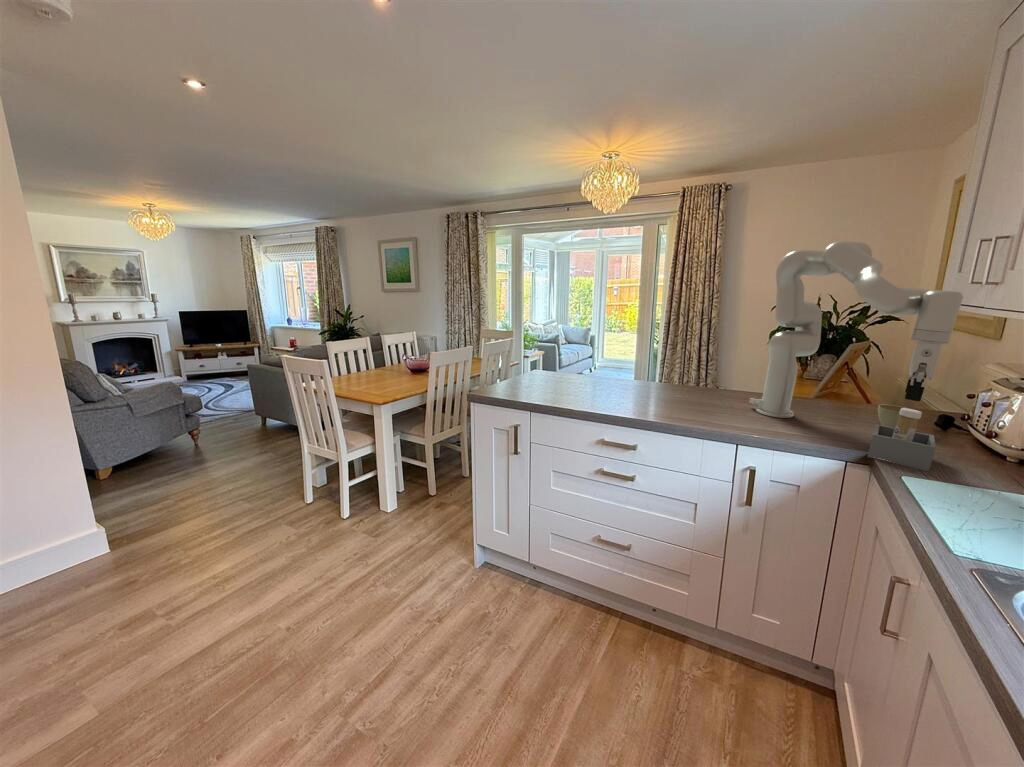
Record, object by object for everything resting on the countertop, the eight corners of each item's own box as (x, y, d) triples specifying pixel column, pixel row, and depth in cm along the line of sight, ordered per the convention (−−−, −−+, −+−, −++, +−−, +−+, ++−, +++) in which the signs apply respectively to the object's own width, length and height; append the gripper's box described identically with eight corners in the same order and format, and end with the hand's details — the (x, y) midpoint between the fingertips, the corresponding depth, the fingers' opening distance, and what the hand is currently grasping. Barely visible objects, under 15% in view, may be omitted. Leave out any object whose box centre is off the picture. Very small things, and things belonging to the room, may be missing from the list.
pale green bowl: (867, 424, 152) (871, 405, 150) (884, 421, 155) (889, 403, 153) (900, 434, 143) (905, 414, 141) (917, 431, 146) (922, 411, 144)
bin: (867, 457, 123) (873, 434, 121) (870, 445, 132) (875, 424, 130) (928, 471, 114) (935, 447, 113) (927, 457, 124) (933, 435, 122)
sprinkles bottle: (883, 450, 125) (896, 407, 122) (896, 450, 125) (910, 407, 122) (898, 456, 121) (912, 412, 117) (912, 457, 121) (926, 412, 118)
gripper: (952, 342, 106) (931, 406, 110) (947, 335, 118) (929, 393, 123) (912, 338, 111) (893, 399, 115) (911, 332, 123) (895, 388, 128)
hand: (912, 396), depth 119 cm, fingers open, 9 cm apart
